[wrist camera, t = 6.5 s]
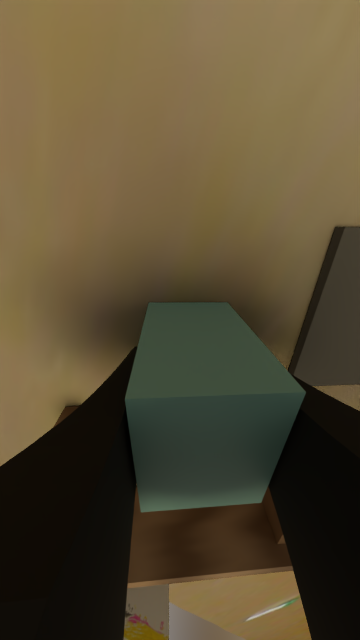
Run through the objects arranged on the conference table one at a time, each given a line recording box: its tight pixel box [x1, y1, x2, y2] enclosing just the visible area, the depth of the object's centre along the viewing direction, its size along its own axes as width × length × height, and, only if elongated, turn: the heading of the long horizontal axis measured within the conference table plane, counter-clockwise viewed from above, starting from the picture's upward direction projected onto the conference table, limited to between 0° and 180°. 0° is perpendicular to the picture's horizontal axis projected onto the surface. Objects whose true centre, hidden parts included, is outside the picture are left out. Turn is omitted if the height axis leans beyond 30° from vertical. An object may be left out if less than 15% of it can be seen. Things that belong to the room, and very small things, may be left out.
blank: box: [125, 302, 306, 512], centre depth 8 cm, size 4×5×6 cm
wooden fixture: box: [54, 406, 293, 588], centre depth 13 cm, size 15×11×5 cm
